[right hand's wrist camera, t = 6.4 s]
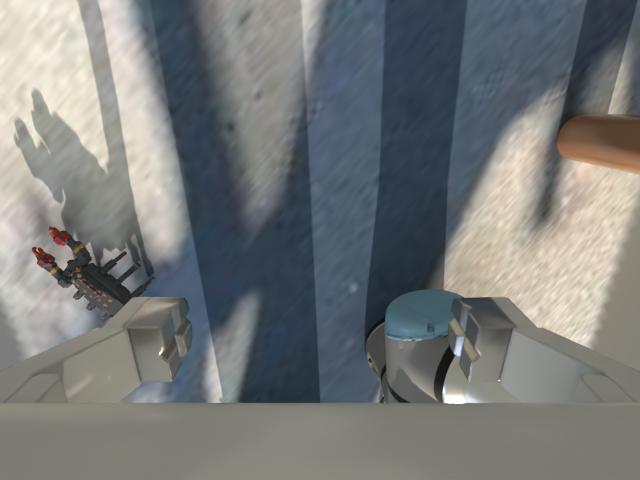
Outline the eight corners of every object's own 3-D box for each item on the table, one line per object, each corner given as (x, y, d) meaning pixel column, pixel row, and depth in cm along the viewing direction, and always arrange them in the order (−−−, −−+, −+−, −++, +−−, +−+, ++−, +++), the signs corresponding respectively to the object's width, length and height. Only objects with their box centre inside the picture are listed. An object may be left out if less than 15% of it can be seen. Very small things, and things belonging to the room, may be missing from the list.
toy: (144, 345, 70) (88, 423, 53) (31, 252, 62) (-78, 307, 45) (190, 310, 67) (145, 381, 50) (76, 207, 59) (-22, 250, 42)
